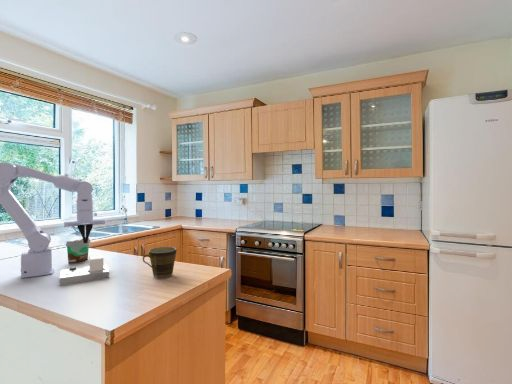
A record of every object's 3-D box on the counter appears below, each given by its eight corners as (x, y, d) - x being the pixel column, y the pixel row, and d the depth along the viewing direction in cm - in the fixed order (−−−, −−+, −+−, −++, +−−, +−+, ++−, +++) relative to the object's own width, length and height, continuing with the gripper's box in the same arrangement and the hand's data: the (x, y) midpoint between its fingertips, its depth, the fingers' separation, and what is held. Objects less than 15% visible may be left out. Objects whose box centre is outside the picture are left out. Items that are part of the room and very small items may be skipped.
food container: (80, 264, 124) (79, 241, 124) (66, 264, 125) (65, 241, 124) (96, 257, 137) (96, 236, 137) (83, 257, 137) (83, 236, 137)
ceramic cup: (167, 270, 114) (166, 245, 114) (182, 275, 108) (182, 249, 108) (136, 278, 104) (135, 251, 104) (150, 284, 98) (150, 255, 98)
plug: (90, 276, 105) (89, 259, 104) (89, 273, 109) (89, 256, 109) (103, 274, 107) (103, 258, 107) (102, 271, 112) (102, 255, 112)
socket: (59, 285, 97) (59, 276, 97) (61, 276, 107) (61, 268, 107) (109, 278, 105) (108, 269, 105) (106, 270, 115) (106, 262, 115)
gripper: (63, 211, 112) (64, 246, 112) (105, 209, 119) (105, 242, 120) (64, 210, 118) (64, 243, 118) (103, 208, 125) (104, 239, 126)
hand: (85, 242), depth 119 cm, fingers closed
